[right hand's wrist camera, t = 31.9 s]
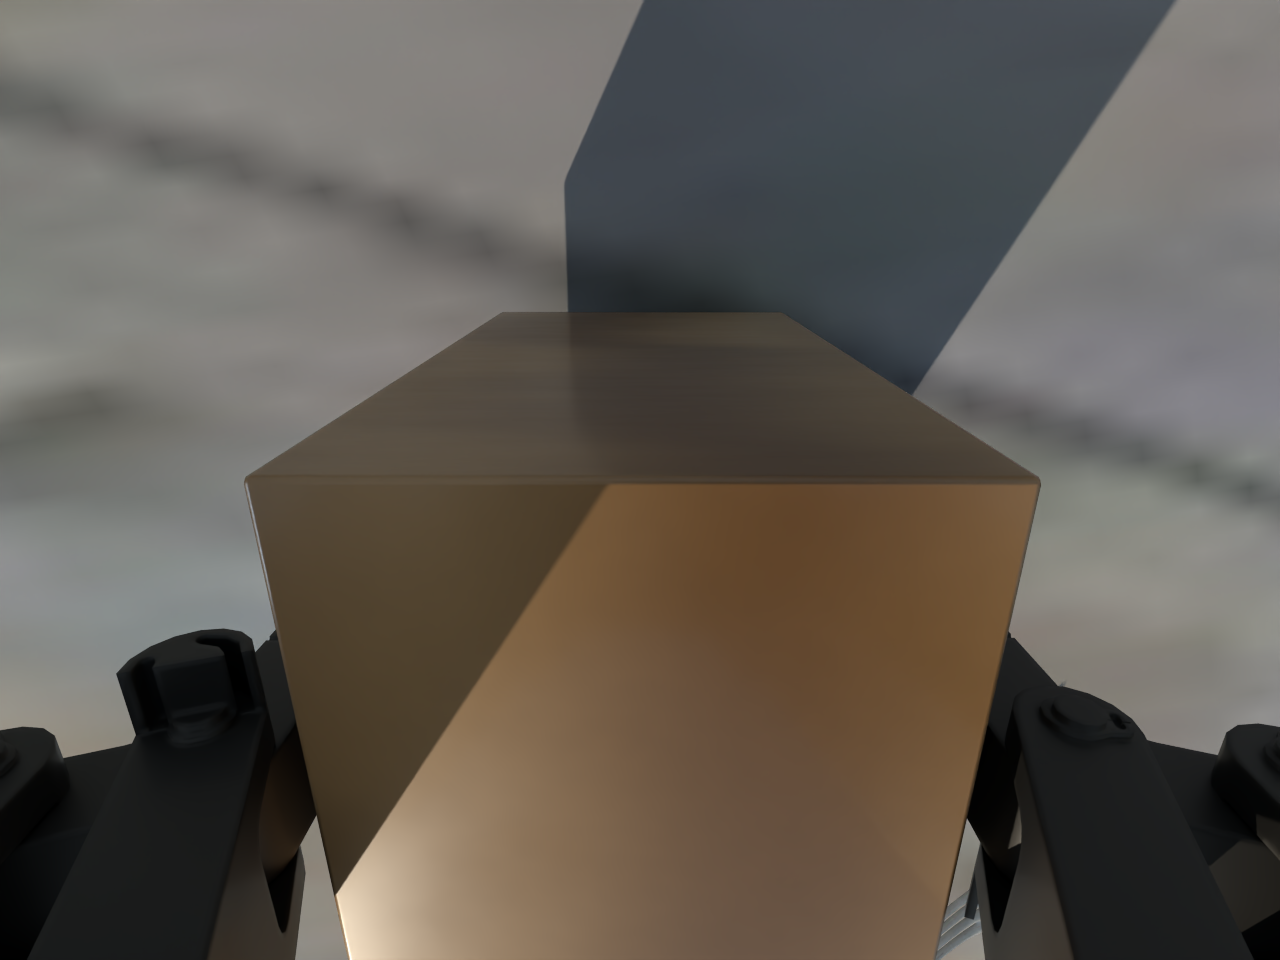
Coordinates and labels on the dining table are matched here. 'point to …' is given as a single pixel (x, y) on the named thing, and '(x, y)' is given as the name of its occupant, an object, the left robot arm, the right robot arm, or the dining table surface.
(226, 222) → the dining table surface
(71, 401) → the dining table surface
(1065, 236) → the dining table surface
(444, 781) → the wooden block
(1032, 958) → the right robot arm
